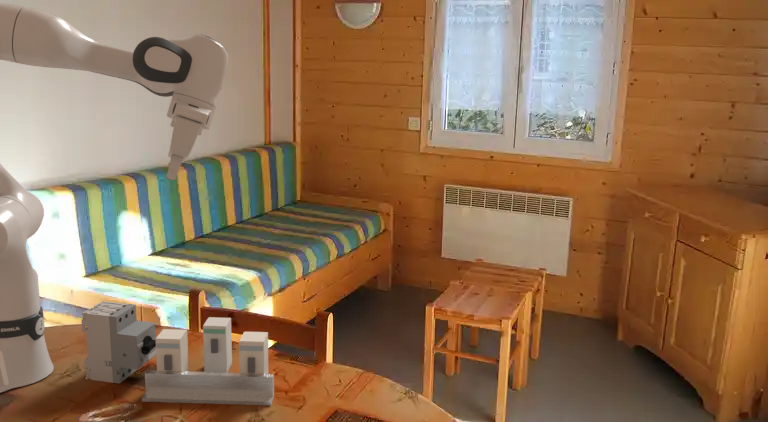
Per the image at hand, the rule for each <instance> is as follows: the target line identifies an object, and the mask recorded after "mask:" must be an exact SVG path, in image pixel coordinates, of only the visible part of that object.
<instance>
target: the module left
mask: <svg viewBox="0 0 768 422" xmlns="http://www.w3.org/2000/svg"><path fill="white" fill-rule="evenodd" d="M188 343H189V341H188V329H173V328H172V329H171V328H169V329H168V328H163V329H162V330H160V333H159V334H158V335H157V336H156V355H155V356H156V358H155V359H156V370H159V371H190V370H189V348H188V347H189V345H188Z"/></svg>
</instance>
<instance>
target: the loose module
mask: <svg viewBox="0 0 768 422" xmlns="http://www.w3.org/2000/svg"><path fill="white" fill-rule="evenodd" d="M202 334H203V335H202V336H203V337H202V339H203V372H224V373H229V370H230V369H231V367H232V364H233V351H232V349H233V347H232V346H233V344H232V342H233V341H232V318H231V317H219V316H218V317H215V316H213V317H212V316H209V317H207V319H206V320H205V322H204V324H203V325H202Z"/></svg>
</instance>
